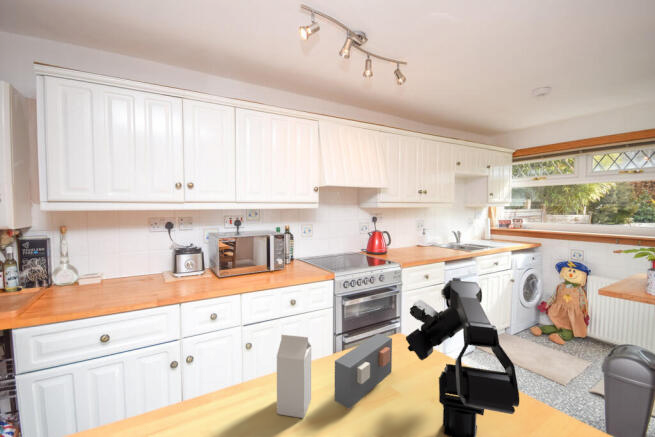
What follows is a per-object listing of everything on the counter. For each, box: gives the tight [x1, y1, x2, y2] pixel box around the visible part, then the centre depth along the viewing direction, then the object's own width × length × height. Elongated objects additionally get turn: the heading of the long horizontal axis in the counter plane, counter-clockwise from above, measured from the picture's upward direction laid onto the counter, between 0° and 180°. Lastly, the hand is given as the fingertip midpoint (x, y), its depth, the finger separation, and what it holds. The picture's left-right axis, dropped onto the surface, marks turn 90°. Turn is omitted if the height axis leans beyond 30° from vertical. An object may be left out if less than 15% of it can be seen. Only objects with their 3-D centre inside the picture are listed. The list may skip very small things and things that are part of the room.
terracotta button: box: [379, 347, 390, 367], centre depth 87 cm, size 2×4×4 cm, turn 139°
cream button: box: [357, 361, 370, 384], centre depth 78 cm, size 2×4×4 cm, turn 139°
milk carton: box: [276, 334, 312, 419], centre depth 75 cm, size 7×7×19 cm
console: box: [334, 332, 393, 410], centre depth 85 cm, size 5×22×11 cm, turn 139°
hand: (409, 348), depth 81 cm, fingers closed
